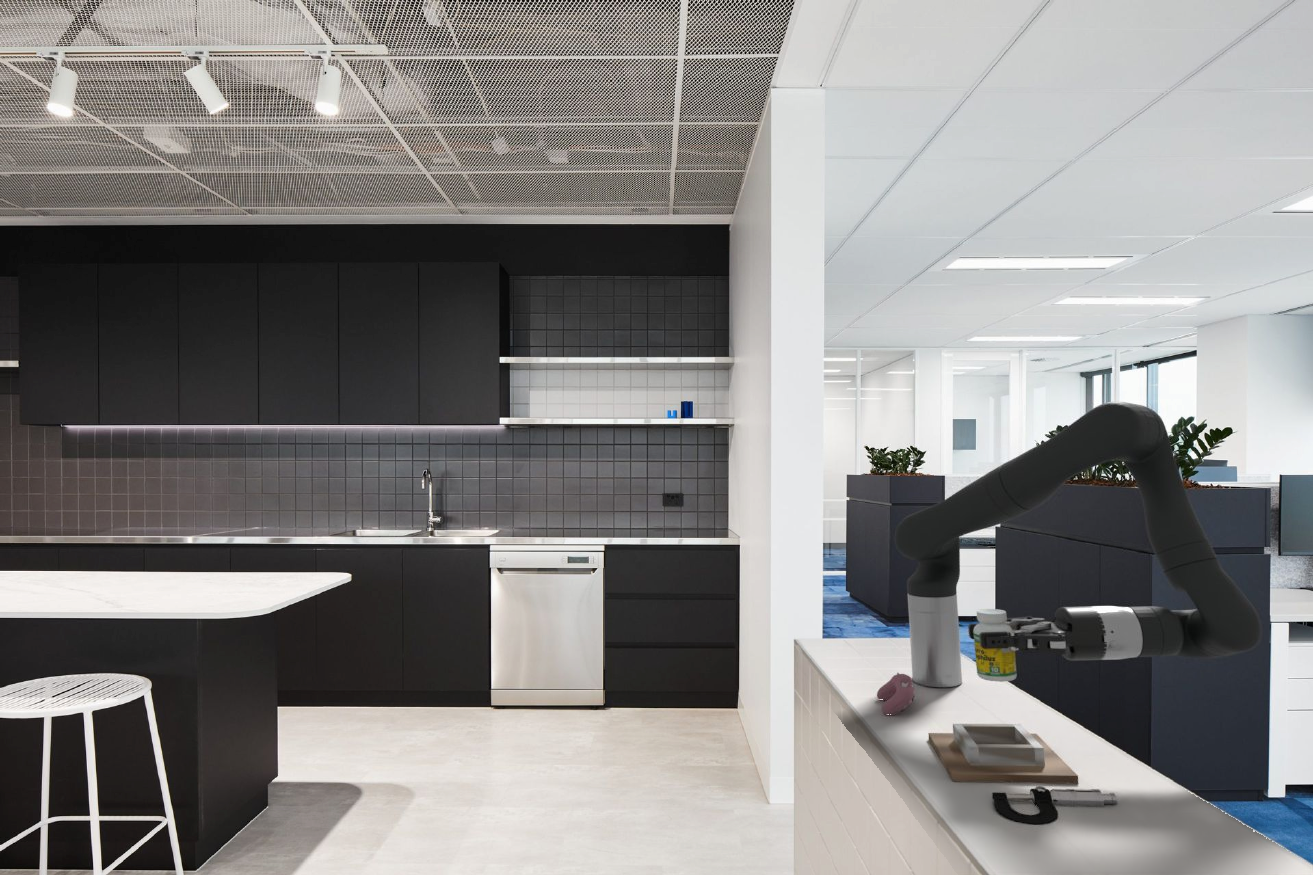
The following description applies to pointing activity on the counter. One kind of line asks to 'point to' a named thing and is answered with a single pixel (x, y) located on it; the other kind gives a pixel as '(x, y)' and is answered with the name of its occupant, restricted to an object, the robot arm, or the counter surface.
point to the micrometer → (1049, 803)
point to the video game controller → (896, 694)
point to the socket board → (999, 755)
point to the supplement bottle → (993, 661)
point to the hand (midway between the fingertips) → (975, 635)
